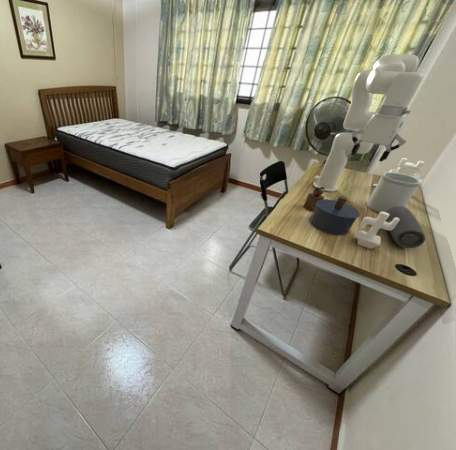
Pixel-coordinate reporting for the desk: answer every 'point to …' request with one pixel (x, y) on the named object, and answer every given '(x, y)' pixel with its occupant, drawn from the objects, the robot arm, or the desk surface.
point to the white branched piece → (408, 168)
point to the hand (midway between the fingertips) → (366, 157)
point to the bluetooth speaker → (405, 228)
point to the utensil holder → (393, 191)
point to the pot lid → (338, 208)
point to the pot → (330, 222)
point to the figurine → (374, 229)
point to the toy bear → (314, 198)
